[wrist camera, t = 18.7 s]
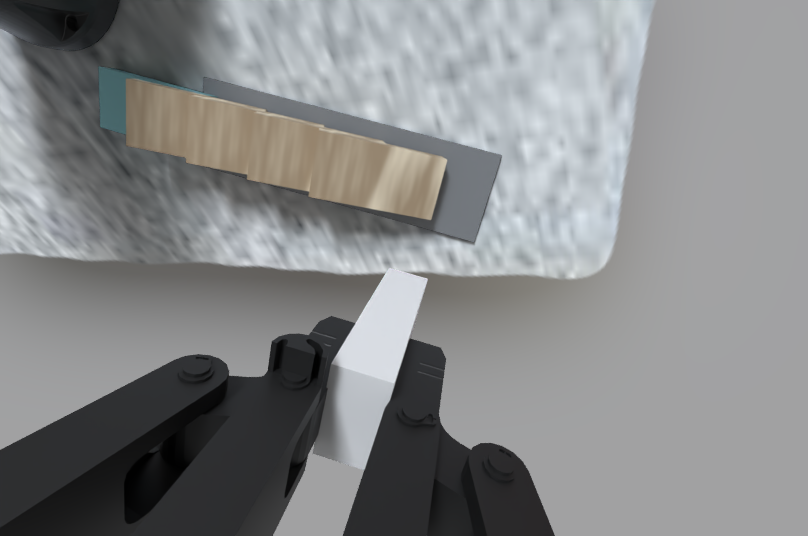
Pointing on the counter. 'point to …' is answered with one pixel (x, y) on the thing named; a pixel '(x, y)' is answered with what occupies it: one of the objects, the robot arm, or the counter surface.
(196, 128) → the beige wooden block
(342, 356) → the robot arm
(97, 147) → the counter surface
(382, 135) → the runner mat
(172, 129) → the light wood flat block
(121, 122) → the tile
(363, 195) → the tile
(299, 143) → the light wood flat block
